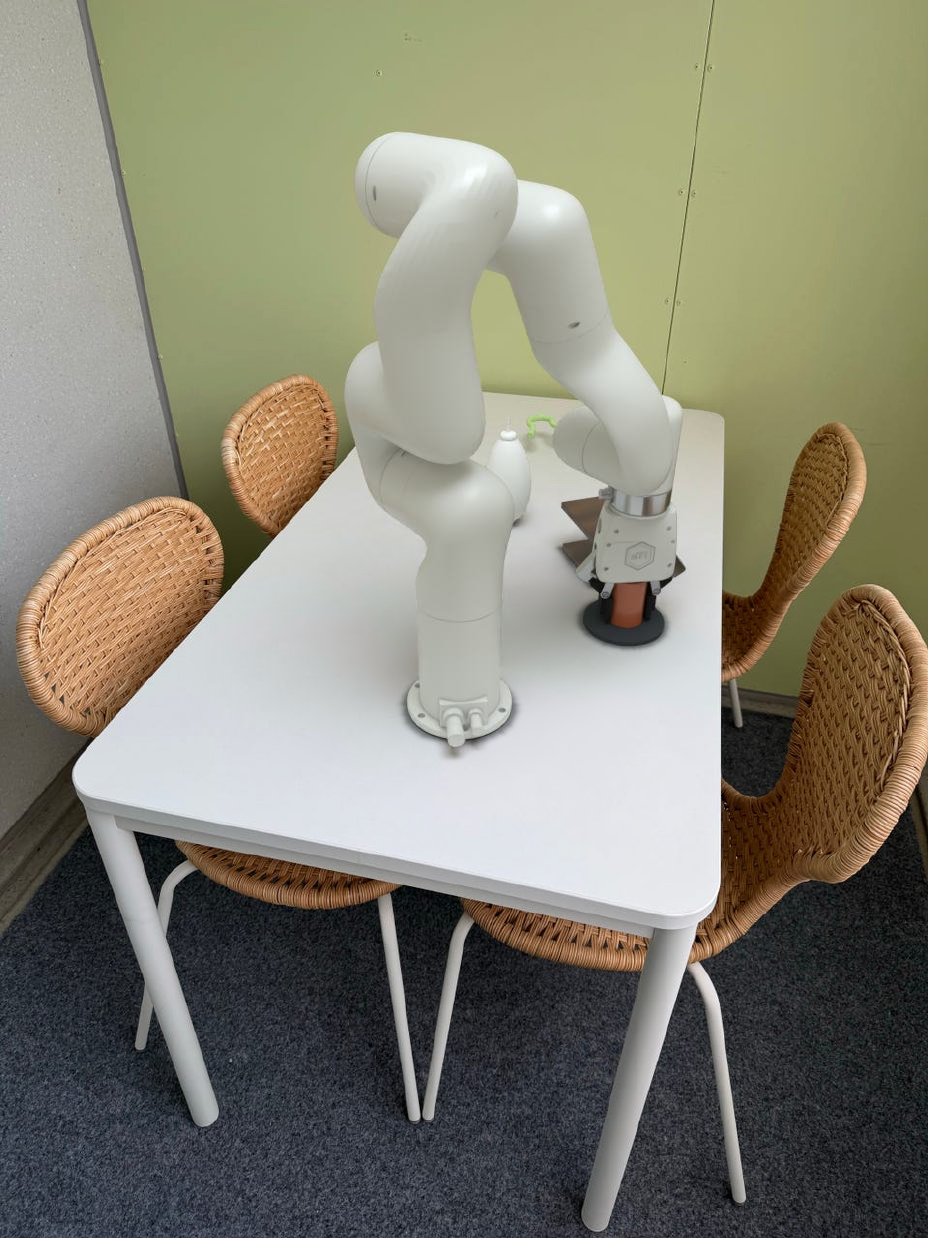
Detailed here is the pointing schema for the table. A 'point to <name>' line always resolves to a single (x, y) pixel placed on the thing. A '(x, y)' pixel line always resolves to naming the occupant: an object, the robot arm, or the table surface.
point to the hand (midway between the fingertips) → (625, 614)
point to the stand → (582, 526)
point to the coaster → (623, 636)
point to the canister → (628, 604)
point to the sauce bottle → (512, 468)
